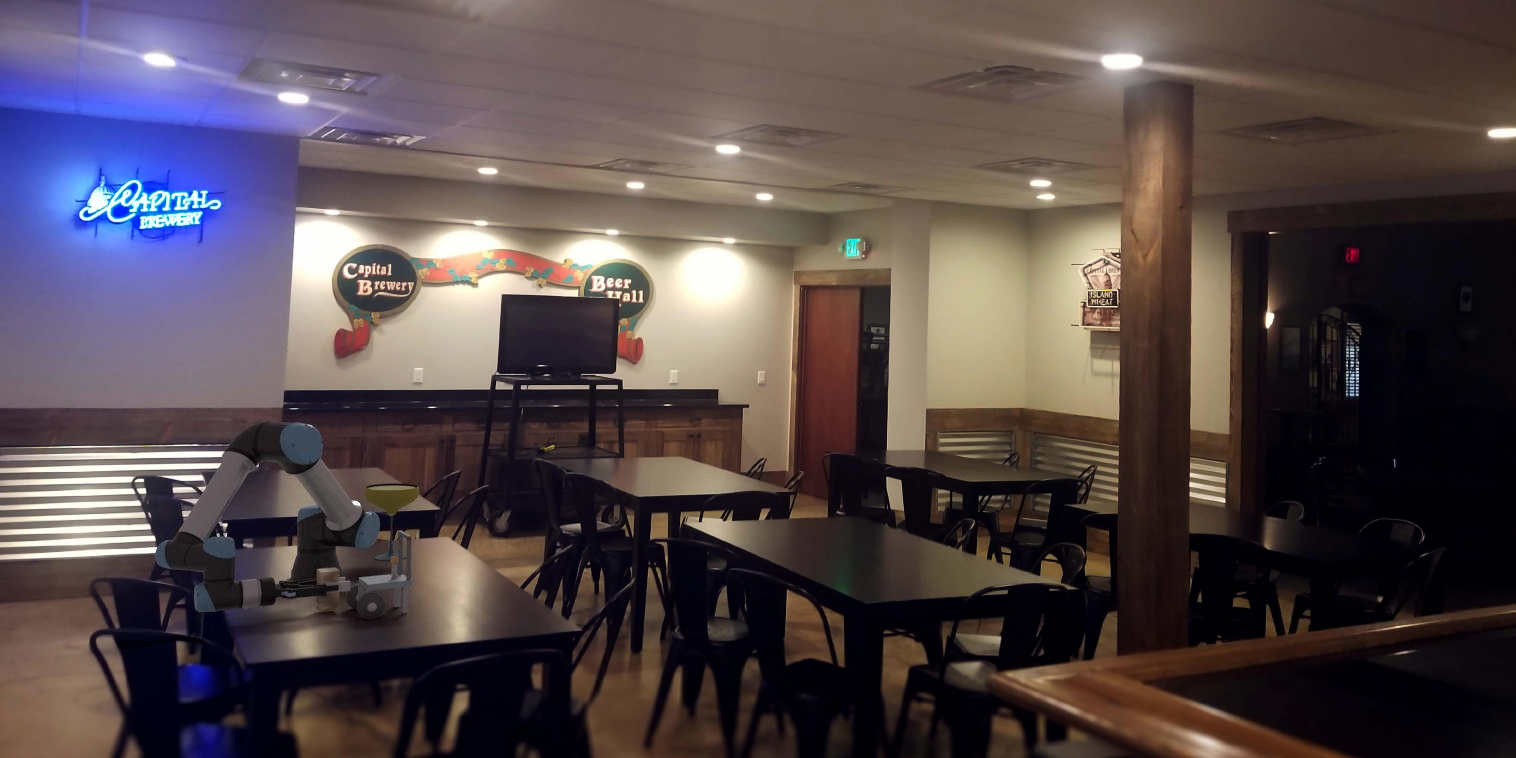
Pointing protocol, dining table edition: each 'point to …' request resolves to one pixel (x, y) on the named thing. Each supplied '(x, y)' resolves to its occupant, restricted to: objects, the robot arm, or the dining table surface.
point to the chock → (330, 599)
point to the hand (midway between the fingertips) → (347, 583)
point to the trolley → (383, 586)
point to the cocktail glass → (391, 504)
